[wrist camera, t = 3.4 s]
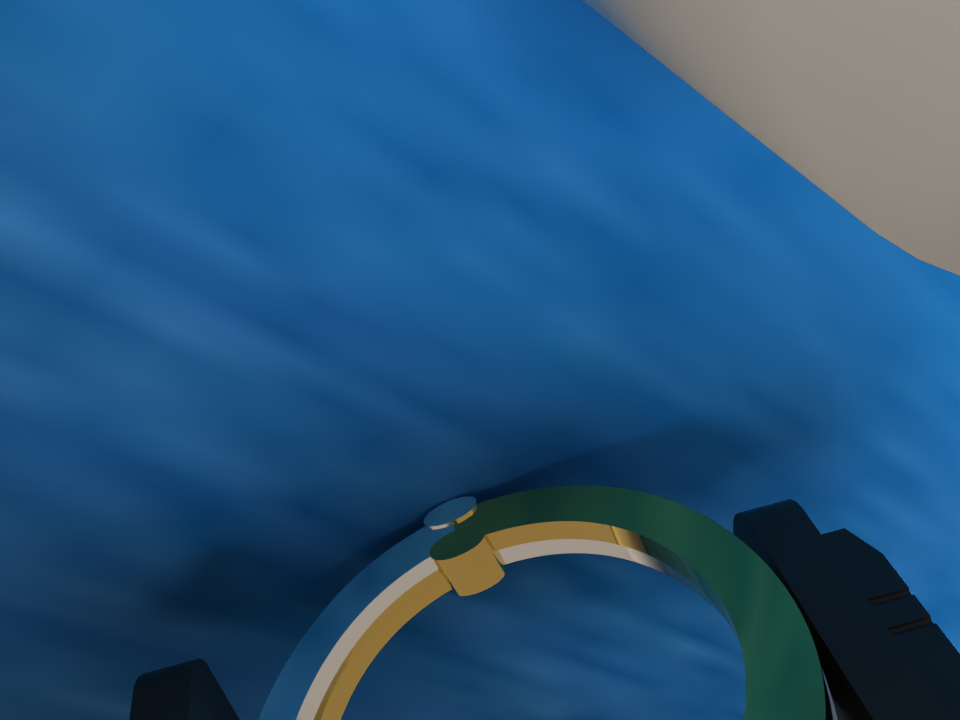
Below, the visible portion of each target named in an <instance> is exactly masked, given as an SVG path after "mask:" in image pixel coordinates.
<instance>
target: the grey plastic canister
mask: <svg viewBox="0 0 960 720" xmlns="http://www.w3.org/2000/svg"><path fill="white" fill-rule="evenodd" d="M582 1H583V2H585V3H586V4H587V5H588V6H590V7H591V8H592V9H593V10H595V11H596V12H597V13H599V14H600V15H601V16H602V17H604V18H605V19H606V20H607V21H609V22H610V23H611V24H612V25H614V26H615V27H616V28H617V29H619V30H620V31H621V32H623V33H624V34H625V35H626V36H628V37H629V38H630V39H631V40H633V41H634V42H635V43H636V44H638V45H639V46H640V47H641V48H643V49H644V50H645V51H647V52H648V53H649V54H650V55H652V56H653V57H654V58H655V59H657V60H658V61H659V62H660V63H662V64H663V65H664V66H666V67H667V68H668V69H669V70H671V71H672V72H673V73H674V74H676V75H677V76H678V77H679V78H681V79H682V80H683V81H684V82H686V83H687V84H688V85H690V86H691V87H692V88H693V89H695V90H696V91H697V92H698V93H700V94H701V95H702V96H703V97H705V98H706V99H707V100H708V101H710V102H711V103H712V104H714V105H715V106H716V107H717V108H719V109H720V110H721V111H722V112H724V113H725V114H726V115H727V116H729V117H730V118H731V119H733V120H734V121H735V122H736V123H738V124H739V125H740V126H741V127H743V128H744V129H745V130H746V131H748V132H749V133H750V134H751V135H753V136H754V137H755V138H757V139H758V140H759V141H760V142H762V143H763V144H764V145H765V146H767V147H768V148H769V149H770V150H772V151H773V152H774V153H775V154H777V155H778V156H779V157H781V158H782V159H783V160H784V161H786V162H787V163H788V164H789V165H791V166H792V167H793V168H794V169H796V170H797V171H798V172H800V173H801V174H802V175H803V176H805V177H806V178H807V179H808V180H810V181H811V182H812V183H813V184H815V185H816V186H817V187H818V188H820V189H821V190H822V191H824V192H825V193H826V194H827V195H829V196H830V197H831V198H832V199H834V200H835V201H836V202H837V203H839V204H840V205H841V206H842V207H844V208H845V209H846V210H848V211H849V212H850V213H851V214H853V215H854V216H855V217H856V218H858V219H859V220H860V221H861V222H863V223H864V224H865V225H867V226H868V227H869V228H870V229H872V230H873V231H874V232H875V233H877V234H879V235H880V236H882V237H883V238H885V239H887V240H888V241H890V242H891V243H893V244H895V245H896V246H898V247H899V248H901V249H903V250H904V251H906V252H907V253H909V254H911V255H912V256H914V257H915V258H917V259H919V260H921V261H924V262H927V263H929V264H932V265H934V266H937V267H939V268H942V269H944V270H947V271H949V272H952V273H954V274H957V275H959V276H960V0H582Z"/></svg>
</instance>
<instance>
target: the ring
mask: <svg viewBox="0 0 960 720" xmlns="http://www.w3.org/2000/svg"><path fill="white" fill-rule="evenodd" d="M424 524H425V527H423V528H422V529H420V530H418V531H416V532H415V533H413V534H411V535H410V536H408V537H407V538H405V539H403V540H402V541H400V542H399V543H397V544H396V545H394V546H393V547H392V548H390V549H389V550H387V551H386V552H385V553H383V554H382V555H381V556H379V557H378V558H377V559H375V560H374V561H373V562H372V563H371V564H369V565H368V566H367V567H366V568H365V569H363V570H362V571H361V572H360V573H359V574H358V575H357V576H356V577H355V578H353V579H352V580H351V581H350V582H349V583H348V584H347V585H346V586H345V587H344V588H343V589H342V590H341V591H340V592H339V593H338V594H337V596H336V597H335V598H334V599H333V600H332V601H331V602H330V603H329V604H328V606H327V607H326V608H325V609H324V610H323V611H322V613H321V614H320V615H319V616H318V618H317V619H316V620H315V621H314V623H313V624H312V625H311V627H310V628H309V629H308V631H307V632H306V634H305V635H304V636H303V638H302V639H301V641H300V642H299V644H298V645H297V647H296V648H295V650H294V651H293V653H292V654H291V656H290V658H289V659H288V661H287V663H286V664H285V666H284V668H283V670H282V671H281V673H280V675H279V677H278V679H277V681H276V682H275V684H274V686H273V688H272V690H271V692H270V694H269V696H268V699H267V701H266V703H265V705H264V707H263V709H262V712H261V714H260V716H259V719H258V720H341V718H342V715H343V713H344V710H345V708H346V706H347V703H348V701H349V699H350V697H351V695H352V693H353V691H354V689H355V688H356V686H357V684H358V682H359V681H360V679H361V677H362V676H363V674H364V672H365V671H366V669H367V668H368V666H369V665H370V663H371V662H372V661H373V659H374V658H375V657H376V655H377V654H378V653H379V651H380V650H381V649H382V648H383V646H384V645H385V644H386V643H387V642H388V641H389V640H390V638H391V637H392V636H393V635H394V634H395V633H396V632H397V631H398V630H399V629H400V628H401V627H402V626H403V625H404V624H405V623H406V622H408V621H409V620H410V619H411V618H412V617H413V616H414V615H416V614H417V613H418V612H419V611H421V610H422V609H423V608H425V607H426V606H427V605H429V604H430V603H431V602H433V601H434V600H436V599H437V598H439V597H440V596H442V595H443V594H445V593H447V592H448V591H450V590H453V592H454V593H455V594H456V595H459V596H468V595H473V594H476V593H479V592H482V591H484V590H486V589H488V588H490V587H492V586H493V585H495V584H496V583H498V582H499V581H500V580H501V579H502V578H503V577H504V575H505V573H506V567H505V564H509V563H512V562H516V561H520V560H524V559H528V558H533V557H538V556H545V555H552V554H564V553H588V554H599V555H607V556H613V557H618V558H622V559H626V560H630V561H633V562H637V563H640V564H643V565H645V566H648V567H651V568H653V569H655V570H658V571H660V572H662V573H664V574H666V575H668V576H670V577H672V578H674V579H675V580H677V581H679V582H681V583H682V584H684V585H685V586H687V587H688V588H690V589H691V590H693V591H694V592H696V593H697V594H698V595H700V596H701V597H702V598H703V599H705V600H706V601H707V602H708V603H709V604H710V605H712V606H713V607H714V608H715V609H716V610H717V611H718V612H719V613H720V614H721V615H722V616H723V617H724V618H725V619H726V621H727V622H728V624H729V625H730V627H731V629H732V631H733V632H734V634H735V636H736V638H737V640H738V642H739V644H740V646H741V649H742V653H743V658H744V664H745V672H746V707H745V716H744V720H838V719H837V715H836V711H835V707H834V703H833V700H832V697H831V693H830V690H829V687H828V684H827V681H826V678H825V675H824V673H823V670H822V668H821V665H820V661H819V658H818V654H817V651H816V648H815V645H814V642H813V639H812V636H811V634H810V631H809V629H808V626H807V624H806V622H805V620H804V618H803V616H802V614H801V612H800V610H799V608H798V606H797V605H796V603H795V601H794V600H793V598H792V596H791V595H790V594H789V592H788V591H787V589H786V588H785V586H784V585H783V584H782V582H781V581H780V580H779V578H778V577H777V576H776V575H775V573H774V572H773V571H772V570H771V569H770V568H769V566H768V565H767V564H766V563H765V562H764V561H763V560H762V559H761V558H760V557H759V556H758V555H757V554H756V553H755V552H754V551H753V550H752V549H751V548H749V547H748V546H747V545H746V544H745V543H744V542H742V541H741V540H740V539H739V538H737V537H736V536H735V535H734V534H732V533H731V532H729V531H728V530H727V529H725V528H724V527H722V526H721V525H719V524H718V523H716V522H714V521H713V520H711V519H709V518H708V517H706V516H704V515H702V514H700V513H698V512H696V511H694V510H692V509H690V508H688V507H686V506H684V505H681V504H679V503H676V502H674V501H671V500H668V499H666V498H663V497H660V496H656V495H653V494H649V493H645V492H641V491H637V490H632V489H626V488H620V487H612V486H600V485H565V486H553V487H545V488H538V489H532V490H526V491H521V492H517V493H512V494H508V495H504V496H501V497H497V498H494V499H490V500H487V501H484V502H481V503H478V502H477V500H476V499H475V498H474V497H469V496H466V497H460V498H456V499H453V500H450V501H447V502H445V503H443V504H441V505H439V506H438V507H436V508H434V509H433V510H432V511H431V512H429V513H428V514H427V515H426V517H425V518H424Z"/></svg>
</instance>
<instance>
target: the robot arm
mask: <svg viewBox="0 0 960 720" xmlns="http://www.w3.org/2000/svg"><path fill="white" fill-rule="evenodd" d="M733 534H734V535H735V536H736V537H737V538H739V539H740V540H741V541H742V542H744V543H745V544H746V545H747V546H748V547H749V548H751V549H752V550H753V551H754V552H755V553H756V554H757V555H758V556H759V557H760V558H761V559H762V560H763V561H764V562H765V563H766V564H767V565H768V566H769V568H770V569H771V570H772V571H773V572H774V573H775V575H776V576H777V577H778V578H779V580H780V581H781V582H782V584H783V585H784V586H785V588H786V589H787V591H788V592H789V594H790V595H791V596H792V598H793V600H794V601H795V603H796V605H797V606H798V608H799V610H800V612H801V614H802V616H803V618H804V620H805V622H806V624H807V626H808V629H809V631H810V634H811V636H812V639H813V642H814V645H815V648H816V651H817V654H818V658H819V661H820V665H821V668H822V670H823V673H824V675H825V678H826V681H827V684H828V687H829V690H830V693H831V697H832V700H833V703H834V707H835V711H836V715H837V719H838V720H960V654H959V653H958V651H957V650H956V649H955V647H954V646H953V645H952V643H951V642H950V641H949V640H948V638H947V637H946V636H945V634H944V633H943V632H942V630H941V629H940V628H939V627H938V625H937V624H933V622H932V621H931V618H930V615H929V614H928V612H927V611H926V610H925V608H924V607H923V606H922V604H921V603H920V602H919V601H918V599H917V598H916V597H915V595H911V594H910V592H909V588H908V586H907V585H906V584H905V582H904V581H903V580H902V578H901V577H900V576H899V575H898V573H897V572H896V571H895V569H894V568H893V567H892V565H891V564H890V563H889V562H888V560H887V559H886V558H885V556H884V555H883V554H882V553H881V552H879V551H878V550H876V549H875V548H873V547H872V546H870V545H869V544H867V543H866V542H864V541H863V540H861V539H860V538H858V537H857V536H855V535H854V534H852V533H851V532H849V531H848V530H846V529H845V528H844V529H840V530H837V531H833V532H829V533H826V534H822V535H821V534H820V532H819V531H818V530H817V528H816V527H815V525H814V524H813V522H812V521H811V520H810V518H809V517H808V515H807V514H806V513H805V511H804V510H803V509H802V507H801V506H800V505H799V504H798V503H797V502H795V501H794V500H791V499H788V500H785V501H781V502H777V503H774V504H770V505H766V506H763V507H759V508H755V509H752V510H748V511H744V512H741V513H737V514H736V515H735V517H734V522H733ZM129 720H239V718H238V716H237V715H236V713H235V711H234V710H233V708H232V706H231V704H230V703H229V701H228V699H227V698H226V696H225V694H224V692H223V691H222V689H221V687H220V686H219V684H218V682H217V681H216V679H215V677H214V675H213V674H212V672H211V670H210V669H209V667H208V665H207V664H206V662H205V661H204V660H202V659H196V660H192V661H188V662H185V663H181V664H178V665H174V666H170V667H167V668H163V669H159V670H156V671H152V672H148V673H145V674H142V675H140V676H139V677H138V679H137V681H136V683H135V686H134V691H133V697H132V704H131V712H130V719H129Z"/></svg>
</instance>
